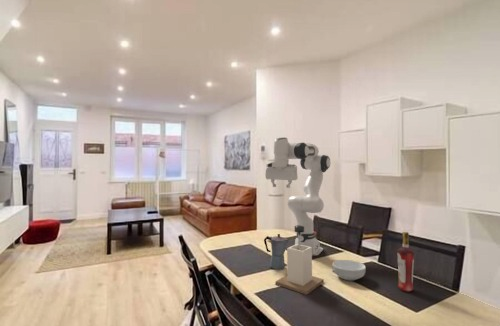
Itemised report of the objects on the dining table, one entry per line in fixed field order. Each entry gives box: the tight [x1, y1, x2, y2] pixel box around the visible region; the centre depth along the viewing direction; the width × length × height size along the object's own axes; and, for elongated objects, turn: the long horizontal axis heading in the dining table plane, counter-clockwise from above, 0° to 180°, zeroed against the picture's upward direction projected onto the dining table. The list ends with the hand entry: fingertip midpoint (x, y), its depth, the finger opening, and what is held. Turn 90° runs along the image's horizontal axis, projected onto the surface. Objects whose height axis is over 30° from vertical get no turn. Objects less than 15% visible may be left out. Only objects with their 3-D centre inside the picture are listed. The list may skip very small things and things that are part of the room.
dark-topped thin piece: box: [294, 224, 304, 250], centre depth 148 cm, size 6×6×17 cm
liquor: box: [396, 231, 415, 293], centre depth 140 cm, size 7×7×28 cm
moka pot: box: [263, 233, 290, 271], centre depth 171 cm, size 10×15×20 cm, turn 78°
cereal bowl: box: [332, 259, 367, 282], centre depth 155 cm, size 17×17×7 cm
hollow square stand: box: [274, 243, 325, 295], centre depth 148 cm, size 18×18×18 cm
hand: (281, 187), depth 172 cm, fingers open, 8 cm apart
